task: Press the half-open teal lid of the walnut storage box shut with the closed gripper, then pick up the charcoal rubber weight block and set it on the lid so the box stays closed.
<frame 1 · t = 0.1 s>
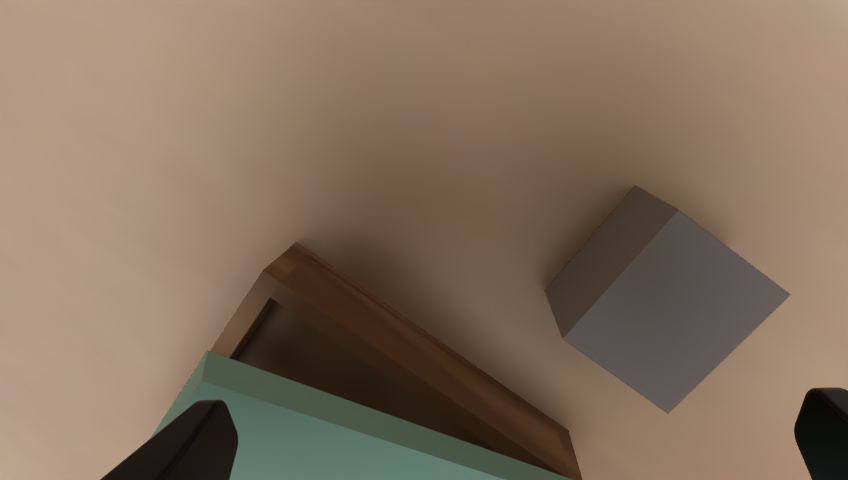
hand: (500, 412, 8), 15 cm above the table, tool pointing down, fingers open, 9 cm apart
weight block: (631, 271, 23), on the table
storage box: (366, 424, 27), on the table
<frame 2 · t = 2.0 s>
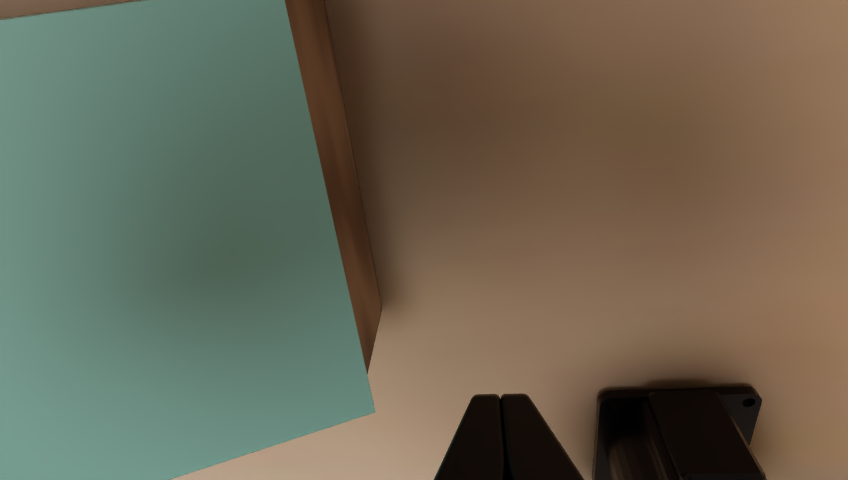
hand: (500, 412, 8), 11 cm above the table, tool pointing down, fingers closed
lid: (0, 317, 13), point 8 cm above the table, hinge at 22.0°
storage box: (144, 189, 19), on the table
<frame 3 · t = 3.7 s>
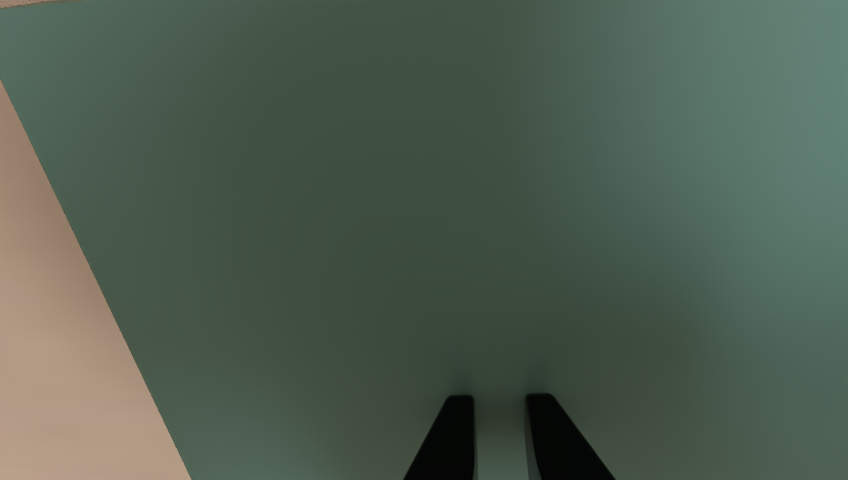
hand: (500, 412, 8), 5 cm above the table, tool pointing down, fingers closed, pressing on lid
lid: (658, 382, 8), point 5 cm above the table, hinge at 1.7°, touching gripper
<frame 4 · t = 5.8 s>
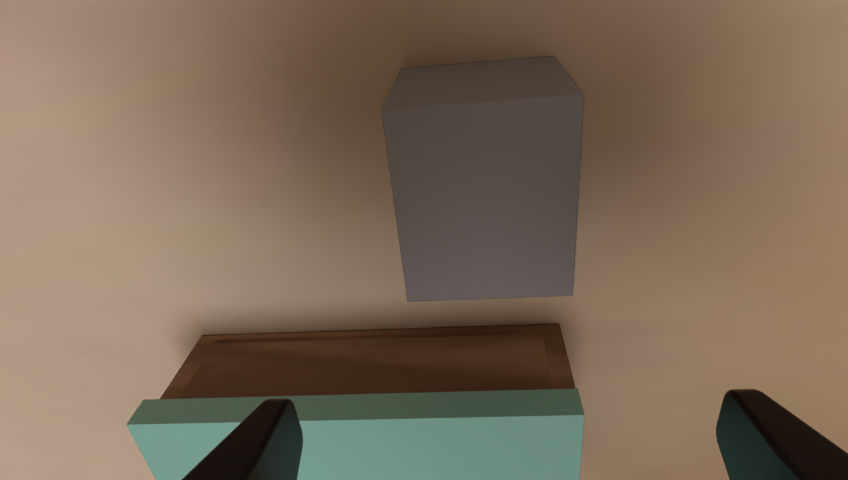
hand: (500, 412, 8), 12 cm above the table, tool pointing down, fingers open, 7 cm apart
weight block: (480, 148, 19), on the table
storage box: (391, 424, 26), on the table
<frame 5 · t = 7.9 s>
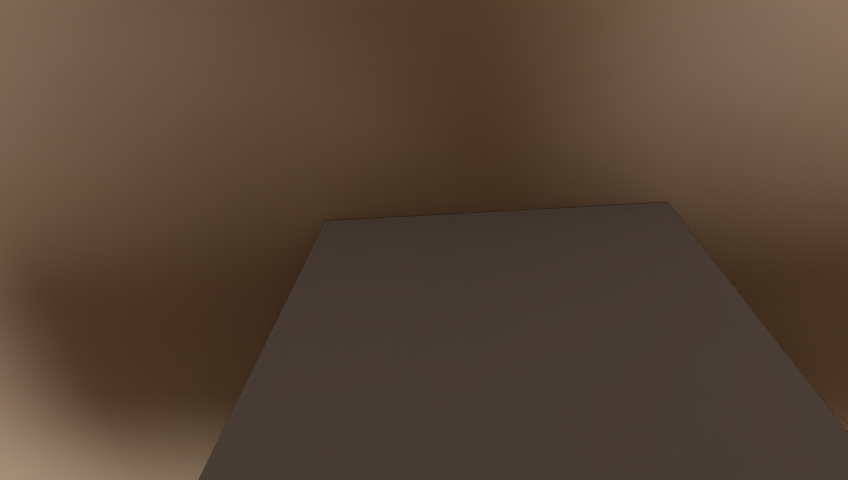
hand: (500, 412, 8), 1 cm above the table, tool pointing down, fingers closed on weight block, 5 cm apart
weight block: (496, 364, 9), on the table, touching gripper
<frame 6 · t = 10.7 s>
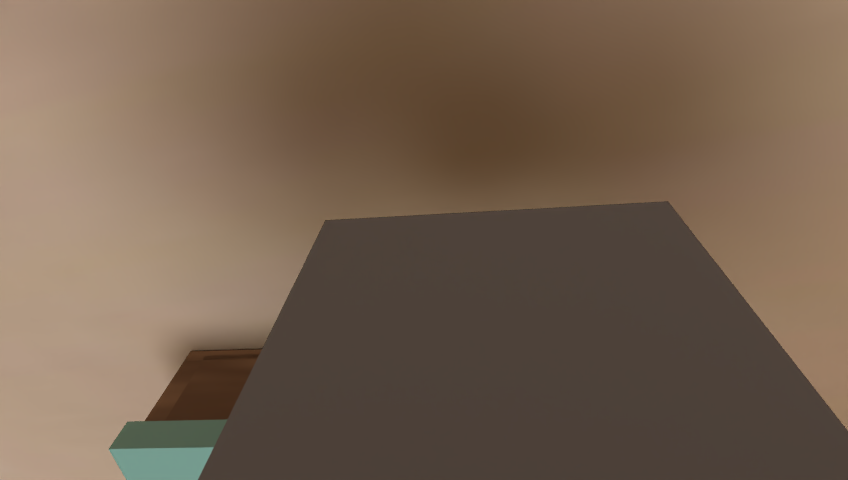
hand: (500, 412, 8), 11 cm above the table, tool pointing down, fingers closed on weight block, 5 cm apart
weight block: (496, 364, 9), point 10 cm above the table, touching gripper
storage box: (388, 442, 25), on the table
when the fingers open (7 cm above the table, at t = 13.4 s): weight block drops 1 cm, resting on lid.
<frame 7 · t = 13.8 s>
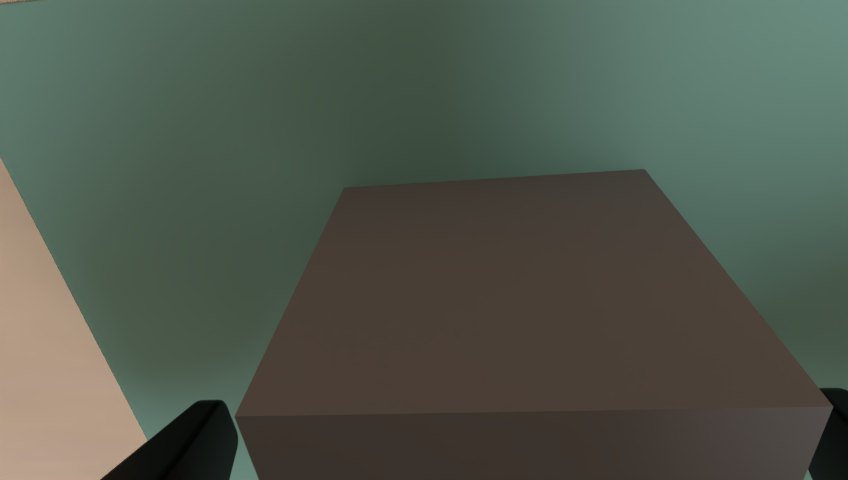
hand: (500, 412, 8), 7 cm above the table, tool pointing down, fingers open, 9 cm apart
weight block: (494, 320, 10), point 5 cm above the table, touching lid
lid: (480, 302, 11), point 5 cm above the table, hinge at 0.0°, touching storage box, weight block
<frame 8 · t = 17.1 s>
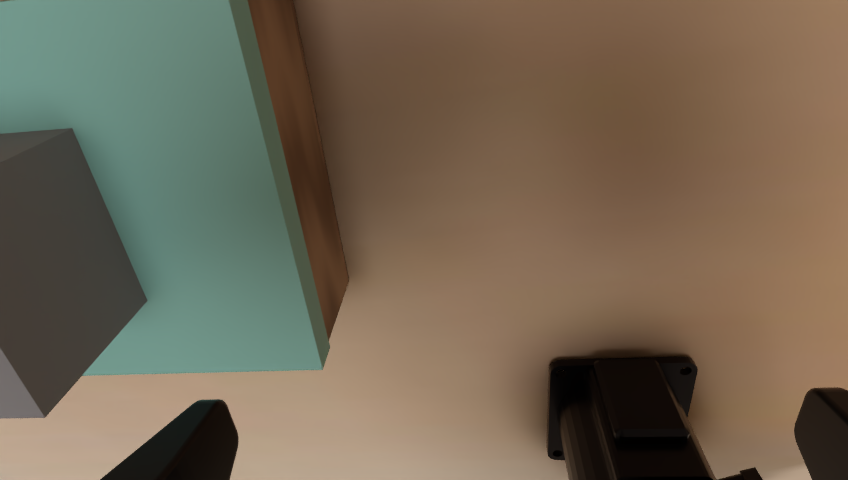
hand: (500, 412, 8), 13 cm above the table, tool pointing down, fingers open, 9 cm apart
weight block: (39, 226, 16), point 5 cm above the table
lid: (44, 218, 17), point 5 cm above the table, hinge at 0.0°, touching storage box
storage box: (128, 165, 21), on the table
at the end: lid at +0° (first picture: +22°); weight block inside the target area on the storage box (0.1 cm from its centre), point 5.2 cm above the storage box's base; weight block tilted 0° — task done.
